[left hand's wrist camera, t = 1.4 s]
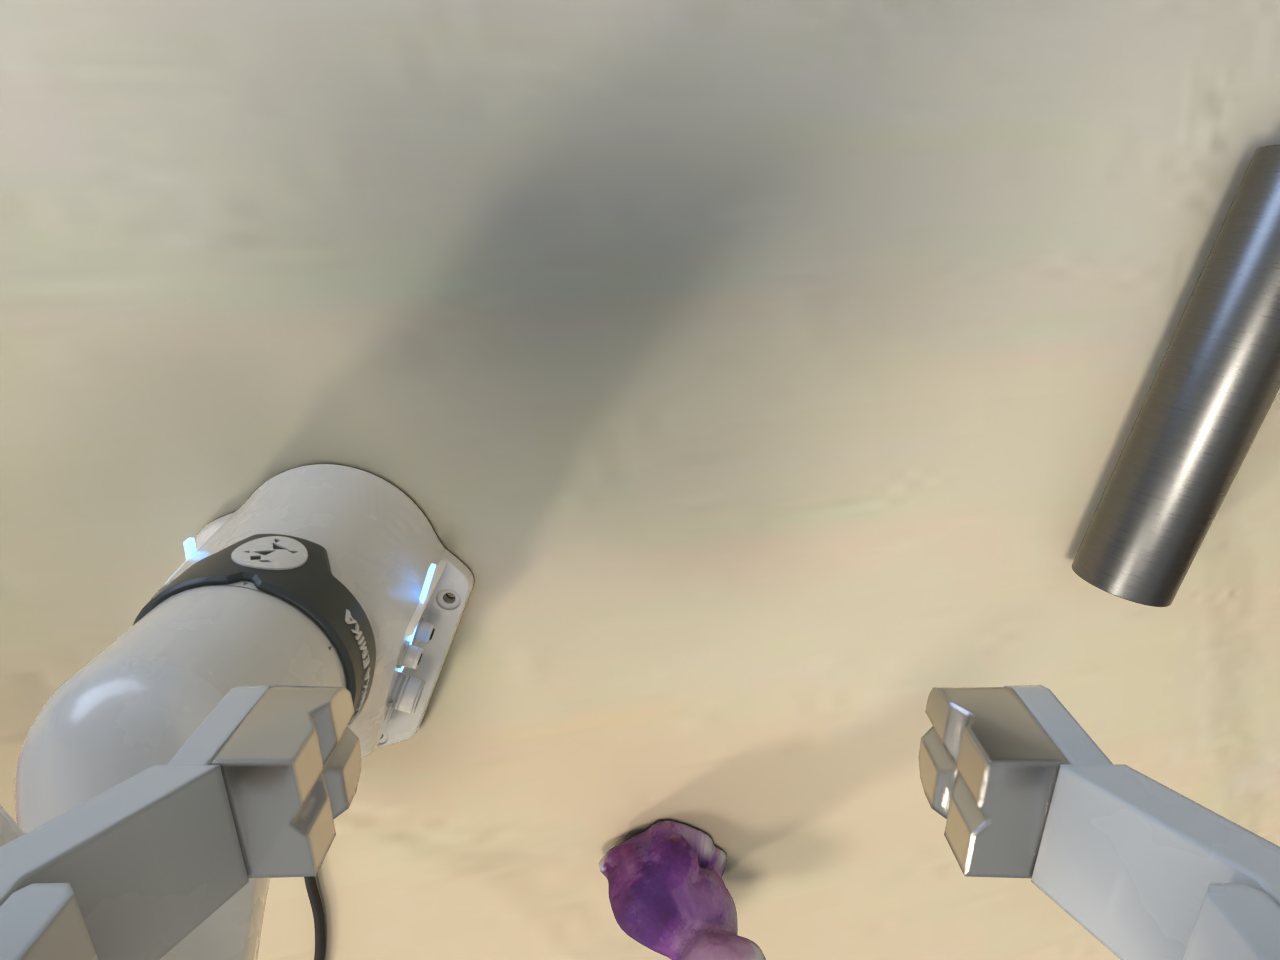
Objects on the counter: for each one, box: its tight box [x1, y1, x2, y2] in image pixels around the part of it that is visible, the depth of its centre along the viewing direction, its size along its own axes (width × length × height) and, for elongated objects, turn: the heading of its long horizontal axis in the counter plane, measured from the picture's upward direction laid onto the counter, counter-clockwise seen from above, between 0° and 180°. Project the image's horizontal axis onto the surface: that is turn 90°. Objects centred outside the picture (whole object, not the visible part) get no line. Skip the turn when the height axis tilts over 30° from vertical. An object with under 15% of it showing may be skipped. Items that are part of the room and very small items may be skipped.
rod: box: [1072, 145, 1280, 607], centre depth 46 cm, size 27×6×6 cm, turn 169°
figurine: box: [599, 821, 766, 960], centre depth 54 cm, size 9×10×15 cm
